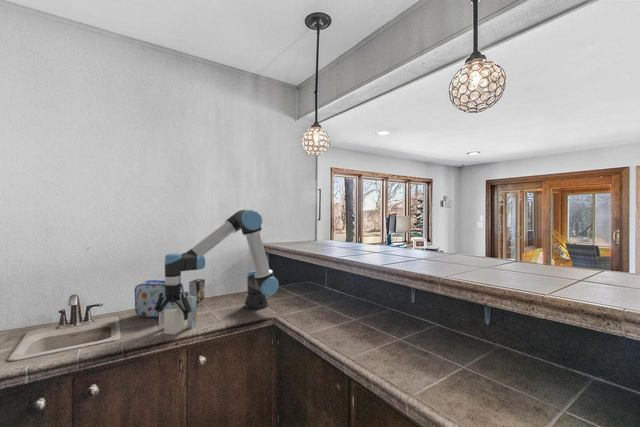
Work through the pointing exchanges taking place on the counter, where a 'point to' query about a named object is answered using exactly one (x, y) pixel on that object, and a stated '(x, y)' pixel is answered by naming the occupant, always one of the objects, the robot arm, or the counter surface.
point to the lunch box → (149, 297)
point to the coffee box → (197, 290)
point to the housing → (191, 315)
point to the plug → (173, 320)
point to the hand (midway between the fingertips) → (172, 324)
